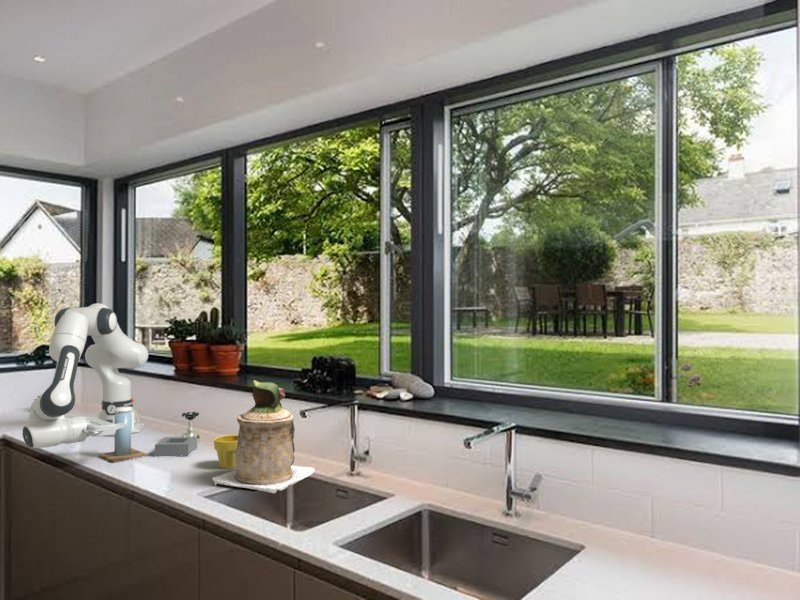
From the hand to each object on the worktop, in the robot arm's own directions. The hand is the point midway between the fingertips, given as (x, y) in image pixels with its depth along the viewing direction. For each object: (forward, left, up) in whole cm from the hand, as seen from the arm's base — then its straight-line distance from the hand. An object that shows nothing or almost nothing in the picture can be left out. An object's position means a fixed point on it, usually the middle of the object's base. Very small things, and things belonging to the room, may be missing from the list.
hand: (117, 423), depth 219 cm
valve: (-21, +20, -13) cm, 32 cm away
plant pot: (+14, +43, -13) cm, 47 cm away
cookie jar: (+29, +58, -13) cm, 66 cm away
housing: (-6, +19, -13) cm, 24 cm away
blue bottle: (-1, +1, -12) cm, 12 cm away
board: (-1, +1, -13) cm, 13 cm away
